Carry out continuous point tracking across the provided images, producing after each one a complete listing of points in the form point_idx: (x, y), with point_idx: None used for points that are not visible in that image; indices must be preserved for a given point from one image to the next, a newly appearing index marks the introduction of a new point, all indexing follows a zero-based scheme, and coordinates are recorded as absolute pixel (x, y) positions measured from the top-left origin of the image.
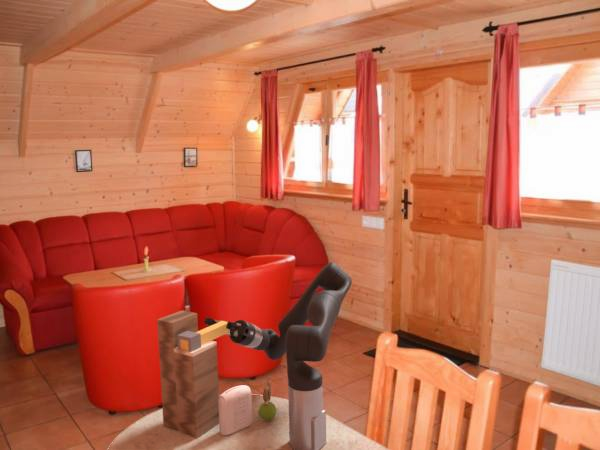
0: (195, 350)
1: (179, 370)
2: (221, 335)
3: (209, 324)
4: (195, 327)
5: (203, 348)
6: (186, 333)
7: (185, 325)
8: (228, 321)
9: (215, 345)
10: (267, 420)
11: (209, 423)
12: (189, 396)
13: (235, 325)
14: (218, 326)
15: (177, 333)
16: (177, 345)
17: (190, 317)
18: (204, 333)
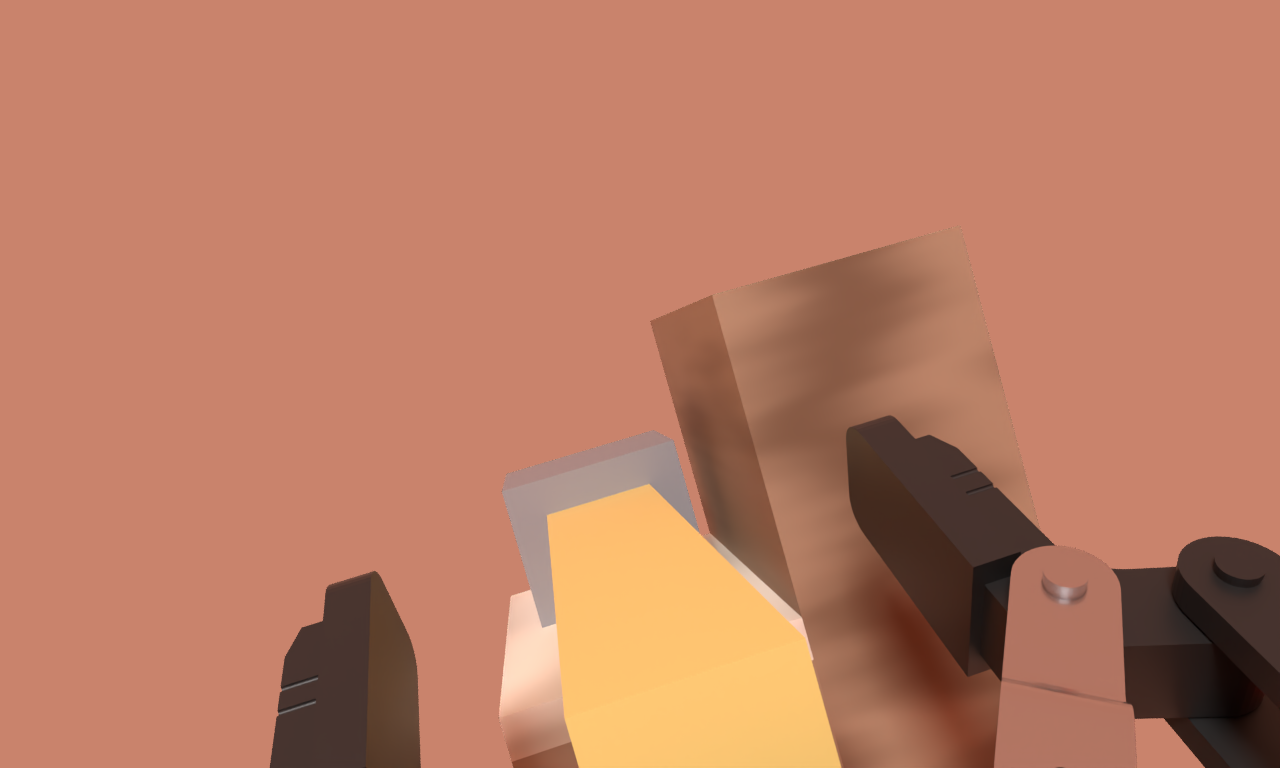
0: (532, 605)
1: None
2: None
3: (898, 570)
4: (749, 465)
5: (508, 641)
6: (618, 448)
7: (694, 386)
8: (367, 573)
9: (509, 746)
10: None
11: None
12: None
13: (281, 738)
14: (582, 599)
15: (688, 426)
16: (716, 527)
17: (692, 322)
18: (550, 533)
